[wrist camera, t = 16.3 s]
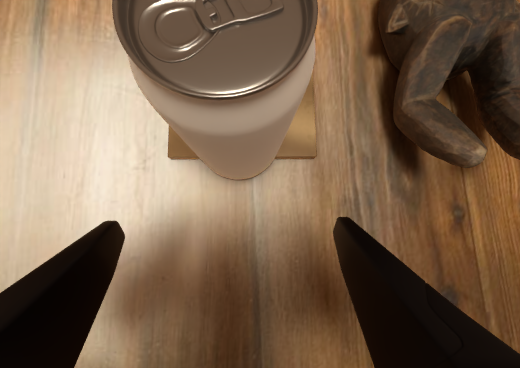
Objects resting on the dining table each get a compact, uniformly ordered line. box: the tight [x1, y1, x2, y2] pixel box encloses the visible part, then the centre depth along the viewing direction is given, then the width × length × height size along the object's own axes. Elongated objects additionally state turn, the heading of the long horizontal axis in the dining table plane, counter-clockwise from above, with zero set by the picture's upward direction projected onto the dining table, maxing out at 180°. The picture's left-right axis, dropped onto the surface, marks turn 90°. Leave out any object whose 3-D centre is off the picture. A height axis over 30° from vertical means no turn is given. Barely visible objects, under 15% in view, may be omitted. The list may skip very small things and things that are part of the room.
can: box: [112, 0, 318, 180], centre depth 12 cm, size 6×6×12 cm
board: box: [168, 71, 317, 159], centre depth 19 cm, size 14×12×1 cm
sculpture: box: [378, 0, 520, 168], centre depth 17 cm, size 10×26×7 cm, turn 4°
